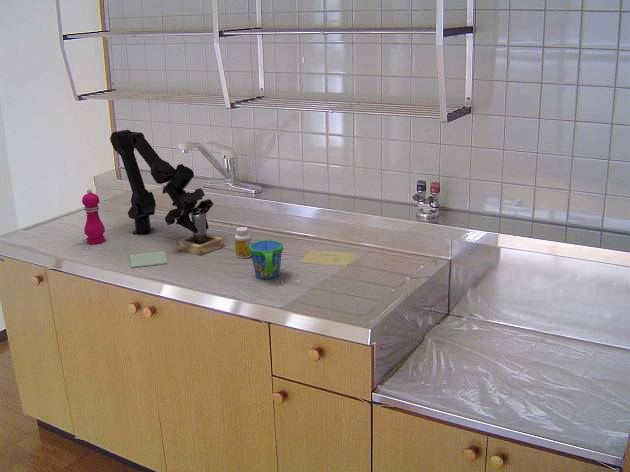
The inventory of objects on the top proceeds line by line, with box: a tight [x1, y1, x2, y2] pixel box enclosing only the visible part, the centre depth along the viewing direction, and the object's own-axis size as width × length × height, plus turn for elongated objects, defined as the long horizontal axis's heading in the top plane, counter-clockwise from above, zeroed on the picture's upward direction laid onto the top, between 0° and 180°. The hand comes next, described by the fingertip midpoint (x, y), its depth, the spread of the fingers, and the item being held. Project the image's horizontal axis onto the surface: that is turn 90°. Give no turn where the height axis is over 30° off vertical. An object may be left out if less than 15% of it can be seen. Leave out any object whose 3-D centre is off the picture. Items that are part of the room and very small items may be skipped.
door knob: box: [190, 212, 208, 245], centre depth 246 cm, size 6×6×12 cm
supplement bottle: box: [234, 226, 252, 259], centre depth 237 cm, size 5×5×10 cm
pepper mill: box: [81, 188, 106, 245], centre depth 254 cm, size 7×7×20 cm
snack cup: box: [249, 239, 284, 280], centre depth 219 cm, size 16×10×10 cm
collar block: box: [176, 233, 225, 257], centre depth 248 cm, size 12×12×3 cm
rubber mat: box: [129, 250, 169, 269], centre depth 237 cm, size 12×12×1 cm
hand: (202, 230), depth 245 cm, fingers closed on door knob, 5 cm apart
